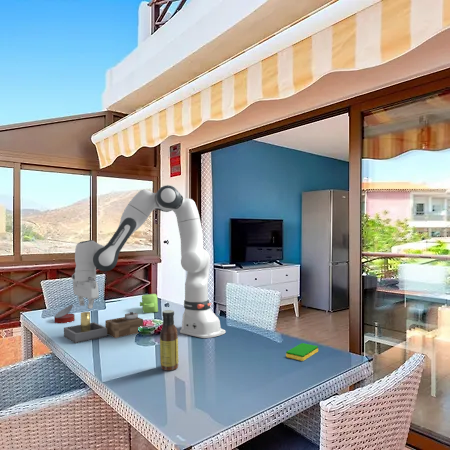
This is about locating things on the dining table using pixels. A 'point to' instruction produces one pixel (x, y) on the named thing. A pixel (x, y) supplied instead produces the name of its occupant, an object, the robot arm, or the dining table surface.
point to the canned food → (64, 315)
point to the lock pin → (85, 321)
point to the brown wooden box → (123, 325)
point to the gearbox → (149, 303)
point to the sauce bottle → (168, 342)
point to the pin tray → (85, 333)
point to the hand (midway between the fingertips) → (86, 306)
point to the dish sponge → (302, 351)
